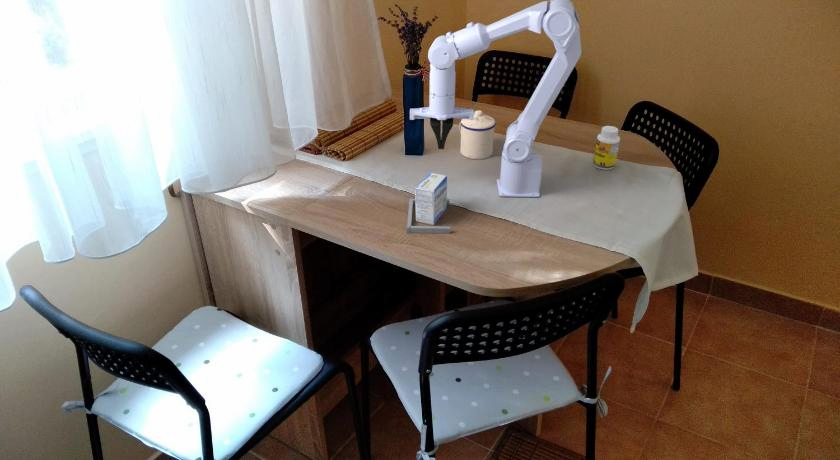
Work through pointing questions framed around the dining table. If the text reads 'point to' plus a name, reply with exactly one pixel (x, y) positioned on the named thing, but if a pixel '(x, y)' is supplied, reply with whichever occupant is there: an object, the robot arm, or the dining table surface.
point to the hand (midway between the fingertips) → (441, 147)
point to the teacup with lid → (477, 136)
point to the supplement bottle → (606, 148)
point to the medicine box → (431, 198)
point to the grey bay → (424, 228)
